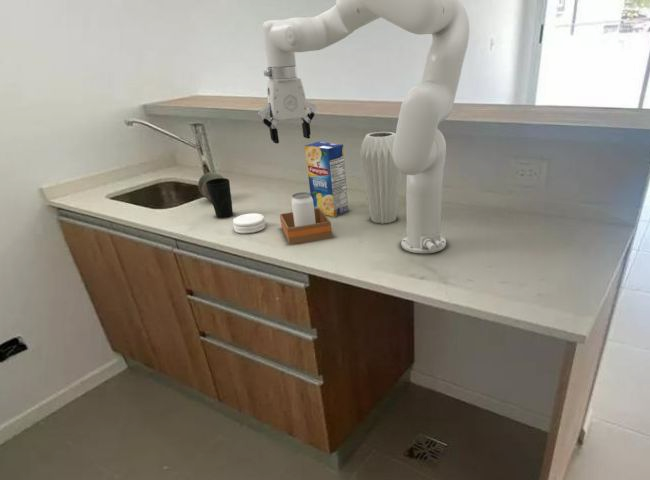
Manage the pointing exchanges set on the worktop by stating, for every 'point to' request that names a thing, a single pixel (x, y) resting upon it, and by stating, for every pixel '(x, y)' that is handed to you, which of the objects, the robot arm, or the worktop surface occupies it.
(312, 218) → the can
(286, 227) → the wooden box
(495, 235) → the worktop surface
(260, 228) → the white round disc
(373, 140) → the vase
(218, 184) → the cup
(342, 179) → the beverage box
